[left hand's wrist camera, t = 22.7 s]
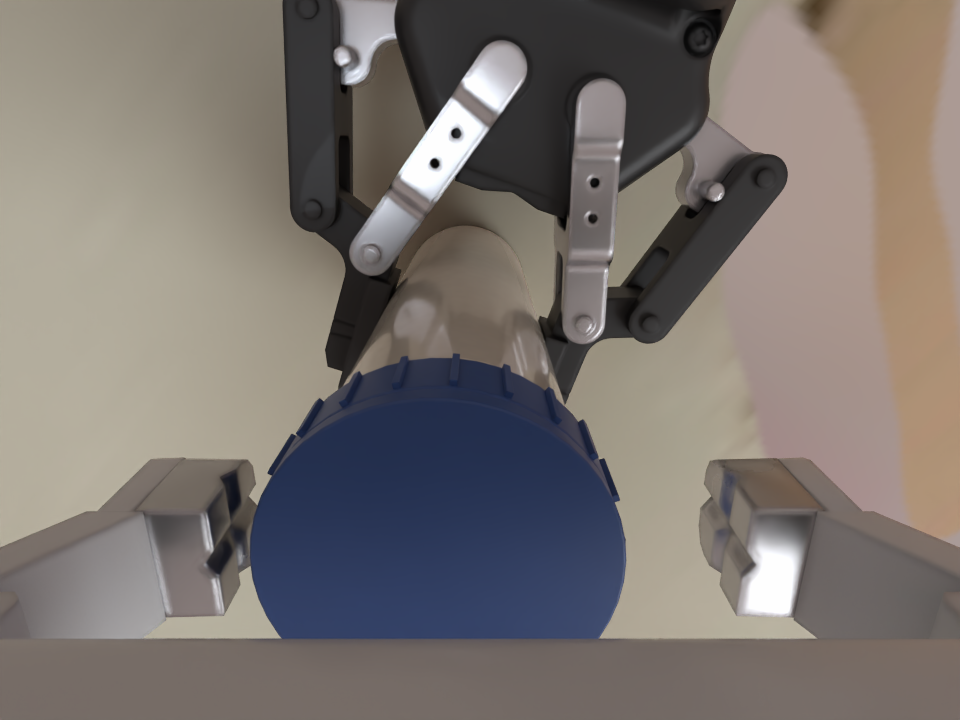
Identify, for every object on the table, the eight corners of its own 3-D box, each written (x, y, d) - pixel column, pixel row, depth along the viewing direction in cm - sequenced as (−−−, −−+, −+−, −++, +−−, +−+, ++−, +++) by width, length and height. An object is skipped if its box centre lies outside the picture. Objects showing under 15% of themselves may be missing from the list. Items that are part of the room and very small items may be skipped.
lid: (607, 629, 11) (627, 706, 9) (304, 642, 11) (277, 721, 9) (613, 342, 9) (639, 382, 8) (250, 361, 9) (206, 405, 8)
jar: (525, 226, 24) (609, 392, 9) (521, 339, 26) (585, 655, 10) (406, 224, 24) (271, 388, 9) (409, 338, 26) (299, 652, 10)
